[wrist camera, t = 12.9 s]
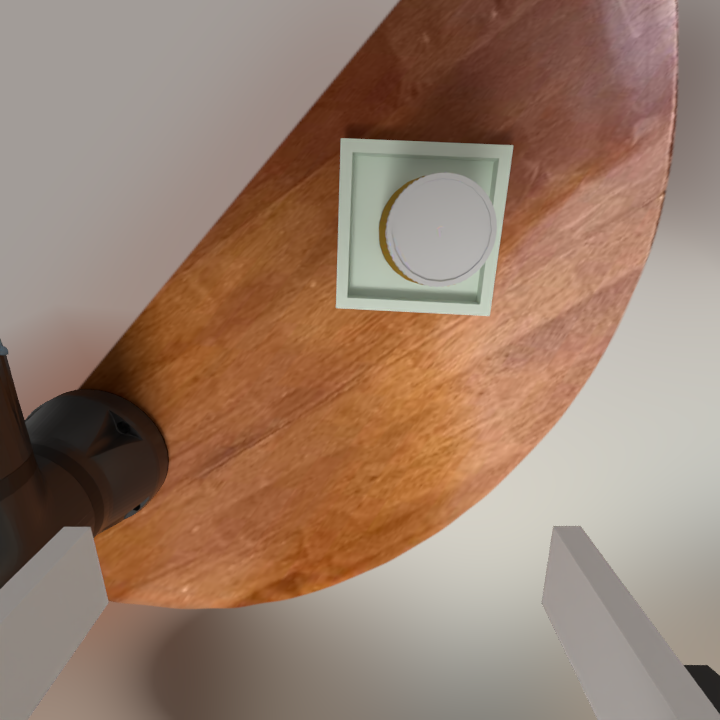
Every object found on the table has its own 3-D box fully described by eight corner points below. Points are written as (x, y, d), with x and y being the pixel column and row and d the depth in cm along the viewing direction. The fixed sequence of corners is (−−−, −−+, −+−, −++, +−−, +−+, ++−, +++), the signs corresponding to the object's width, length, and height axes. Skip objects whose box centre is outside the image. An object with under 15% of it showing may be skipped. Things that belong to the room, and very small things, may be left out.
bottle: (391, 180, 36) (400, 146, 22) (467, 204, 36) (525, 185, 22) (369, 259, 38) (363, 275, 24) (441, 281, 38) (478, 309, 24)
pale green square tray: (338, 303, 40) (336, 308, 38) (343, 144, 36) (340, 138, 34) (483, 311, 40) (489, 316, 38) (504, 151, 36) (513, 145, 33)
